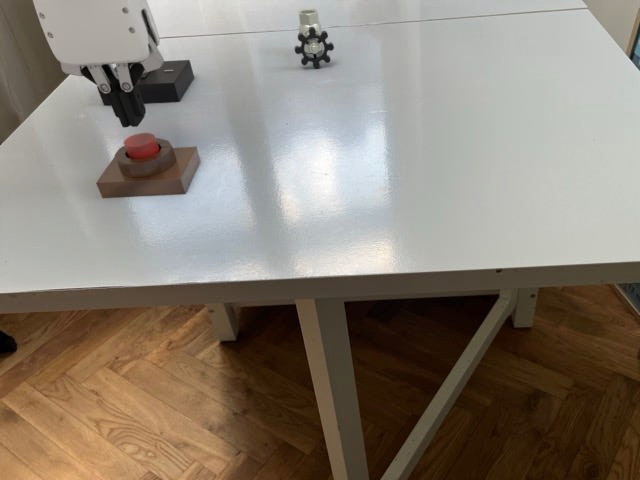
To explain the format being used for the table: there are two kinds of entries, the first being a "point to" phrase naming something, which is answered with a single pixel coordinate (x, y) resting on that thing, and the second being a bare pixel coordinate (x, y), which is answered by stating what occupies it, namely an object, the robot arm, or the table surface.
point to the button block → (150, 172)
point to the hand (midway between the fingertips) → (134, 121)
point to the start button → (141, 146)
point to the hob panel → (162, 83)
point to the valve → (312, 38)
